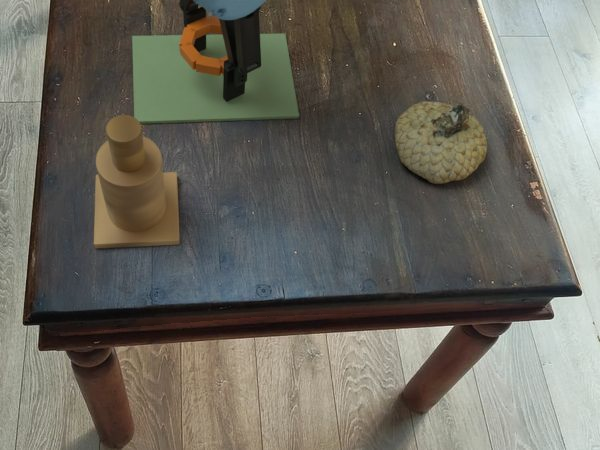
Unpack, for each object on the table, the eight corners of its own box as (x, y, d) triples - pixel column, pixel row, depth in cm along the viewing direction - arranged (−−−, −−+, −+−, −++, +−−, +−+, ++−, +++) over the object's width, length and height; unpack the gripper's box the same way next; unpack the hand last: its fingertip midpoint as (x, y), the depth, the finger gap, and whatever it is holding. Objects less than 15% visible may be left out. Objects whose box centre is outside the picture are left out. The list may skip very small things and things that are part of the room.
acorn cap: (486, 196, 85) (512, 115, 83) (414, 183, 80) (439, 97, 78) (439, 175, 94) (462, 101, 91) (371, 162, 89) (393, 84, 86)
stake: (94, 248, 76) (71, 169, 63) (96, 179, 80) (75, 91, 67) (179, 244, 77) (174, 166, 64) (177, 176, 81) (171, 90, 68)
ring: (204, 84, 82) (204, 76, 81) (168, 40, 85) (168, 32, 84) (260, 58, 85) (261, 50, 84) (224, 17, 88) (224, 8, 87)
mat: (134, 124, 84) (134, 121, 84) (132, 38, 91) (132, 35, 91) (298, 118, 88) (299, 115, 87) (284, 36, 94) (285, 33, 94)
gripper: (309, -35, 67) (286, 116, 87) (191, -154, 74) (195, 10, 94) (244, -8, 64) (236, 142, 84) (128, -134, 71) (145, 31, 91)
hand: (214, 72), depth 89 cm, fingers closed on ring, 8 cm apart
